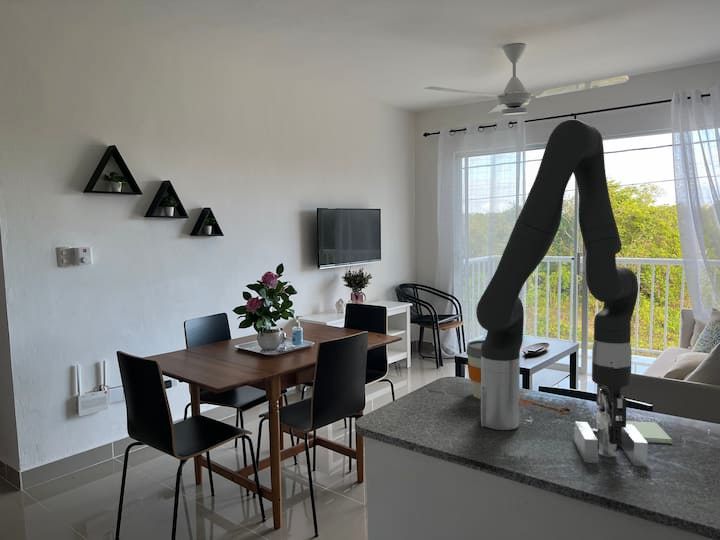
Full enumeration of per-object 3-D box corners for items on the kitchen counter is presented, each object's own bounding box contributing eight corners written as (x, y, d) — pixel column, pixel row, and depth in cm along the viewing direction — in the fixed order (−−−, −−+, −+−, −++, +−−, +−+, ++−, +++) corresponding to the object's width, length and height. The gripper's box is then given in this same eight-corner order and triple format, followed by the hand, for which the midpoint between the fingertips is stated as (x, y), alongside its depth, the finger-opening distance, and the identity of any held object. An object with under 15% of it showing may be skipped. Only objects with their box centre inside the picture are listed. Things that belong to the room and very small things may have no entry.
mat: (623, 440, 120) (623, 436, 120) (611, 424, 130) (611, 420, 130) (671, 443, 118) (671, 439, 118) (655, 426, 128) (655, 422, 128)
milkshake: (626, 458, 111) (627, 412, 110) (601, 458, 111) (602, 412, 110) (616, 449, 115) (617, 405, 115) (591, 449, 115) (592, 405, 115)
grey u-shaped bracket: (584, 462, 110) (584, 439, 109) (573, 440, 121) (573, 418, 120) (647, 466, 107) (647, 442, 107) (630, 443, 118) (630, 421, 118)
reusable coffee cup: (498, 405, 144) (498, 352, 143) (458, 396, 152) (458, 345, 151) (517, 393, 154) (518, 343, 152) (479, 385, 162) (479, 338, 161)
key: (512, 405, 146) (563, 419, 135) (512, 402, 146) (563, 415, 135) (523, 399, 150) (574, 412, 139) (523, 396, 150) (574, 408, 139)
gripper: (585, 352, 119) (584, 422, 121) (600, 369, 105) (599, 448, 107) (620, 353, 118) (619, 424, 119) (641, 370, 104) (639, 451, 105)
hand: (610, 435), depth 113 cm, fingers open, 7 cm apart
